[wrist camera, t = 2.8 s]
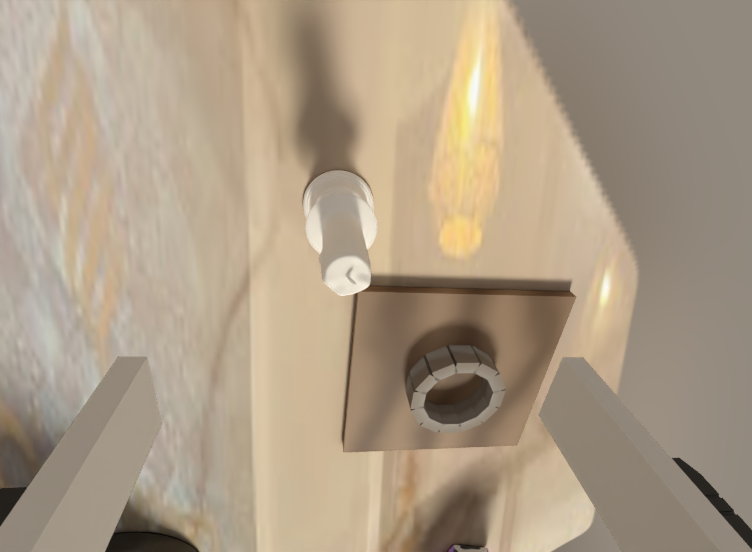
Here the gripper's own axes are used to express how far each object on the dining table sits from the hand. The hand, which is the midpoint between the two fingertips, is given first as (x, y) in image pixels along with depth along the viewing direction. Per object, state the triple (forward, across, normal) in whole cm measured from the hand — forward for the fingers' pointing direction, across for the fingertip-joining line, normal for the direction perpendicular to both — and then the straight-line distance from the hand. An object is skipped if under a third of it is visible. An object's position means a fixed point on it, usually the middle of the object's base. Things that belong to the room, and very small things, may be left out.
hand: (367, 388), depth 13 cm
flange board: (+19, +12, -17) cm, 29 cm away
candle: (+20, 0, 0) cm, 20 cm away
